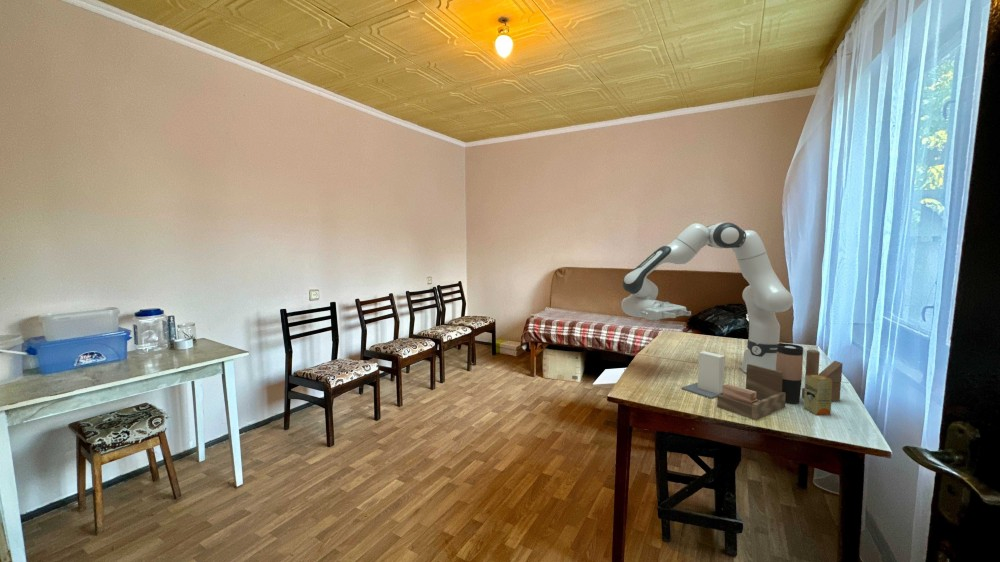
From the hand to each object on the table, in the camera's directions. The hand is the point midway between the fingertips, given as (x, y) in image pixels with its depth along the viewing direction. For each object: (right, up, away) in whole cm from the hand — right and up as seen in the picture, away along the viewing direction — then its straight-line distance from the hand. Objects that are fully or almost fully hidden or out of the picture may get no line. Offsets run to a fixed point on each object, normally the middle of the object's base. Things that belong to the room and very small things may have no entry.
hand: (682, 314), depth 158 cm
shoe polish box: (+32, -31, -27) cm, 52 cm away
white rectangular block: (+7, -28, -8) cm, 30 cm away
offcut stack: (+7, -30, -26) cm, 40 cm away
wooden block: (+42, -30, -17) cm, 54 cm away
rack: (+13, -30, -23) cm, 40 cm away
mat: (+6, -29, -7) cm, 30 cm away
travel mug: (+30, -30, -17) cm, 45 cm away
